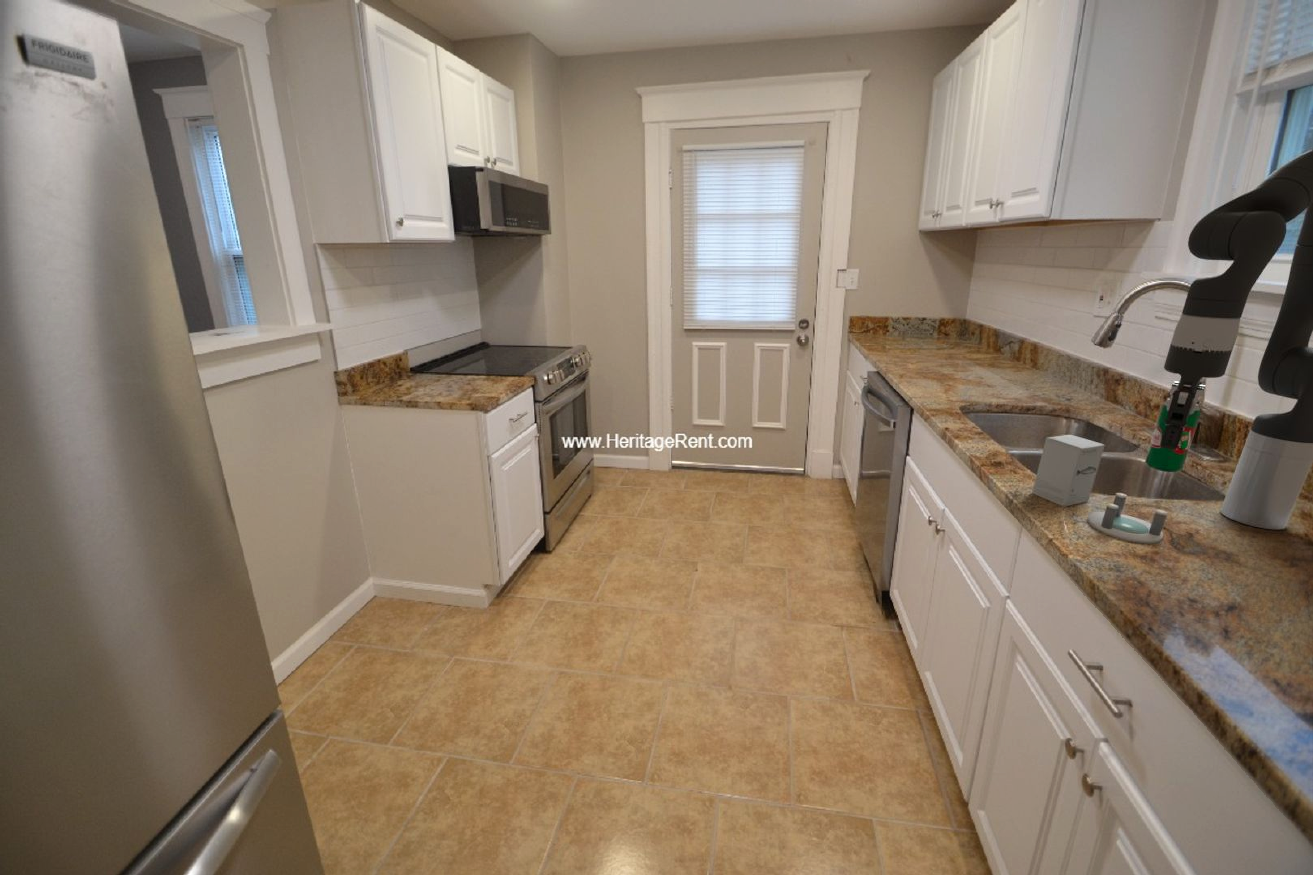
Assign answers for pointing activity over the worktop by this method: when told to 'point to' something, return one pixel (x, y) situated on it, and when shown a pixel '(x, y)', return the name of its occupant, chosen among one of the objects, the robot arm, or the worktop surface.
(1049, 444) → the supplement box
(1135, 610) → the worktop surface
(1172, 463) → the soda can
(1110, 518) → the pin socket
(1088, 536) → the worktop surface
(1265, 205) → the robot arm
